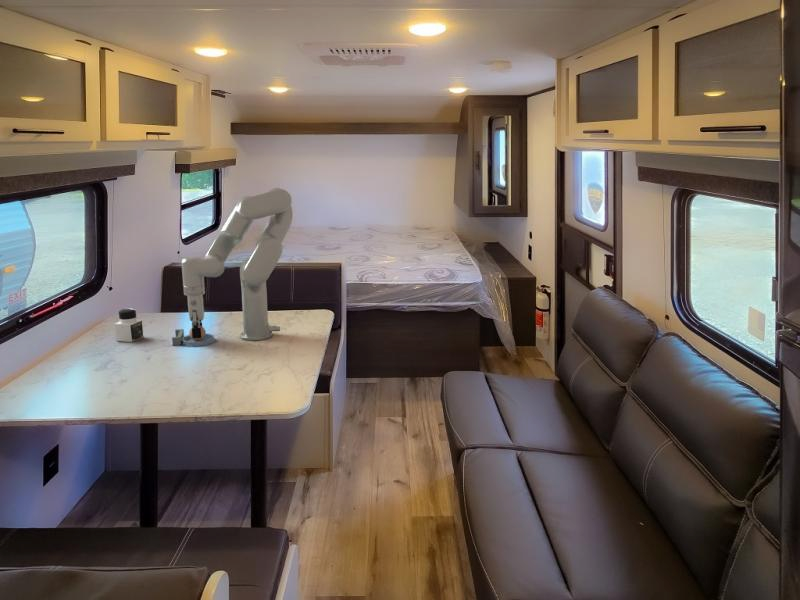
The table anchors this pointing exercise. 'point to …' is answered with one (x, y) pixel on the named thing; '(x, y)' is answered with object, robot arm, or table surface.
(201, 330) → the ball
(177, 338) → the gate arch
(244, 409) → the table surface
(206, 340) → the dish
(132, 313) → the medicine bottle
